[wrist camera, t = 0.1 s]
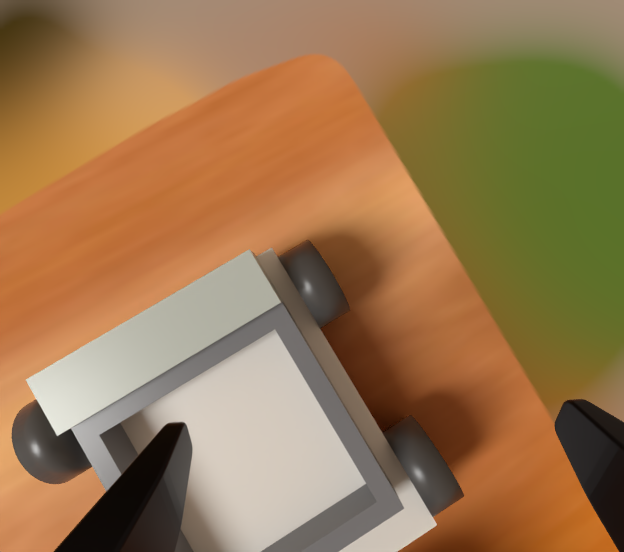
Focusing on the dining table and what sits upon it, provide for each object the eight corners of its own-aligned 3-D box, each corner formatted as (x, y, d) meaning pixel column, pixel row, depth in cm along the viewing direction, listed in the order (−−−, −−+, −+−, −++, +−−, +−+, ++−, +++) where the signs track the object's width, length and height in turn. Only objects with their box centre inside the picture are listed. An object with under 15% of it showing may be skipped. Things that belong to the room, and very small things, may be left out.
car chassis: (445, 478, 23) (496, 541, 17) (199, 639, 22) (161, 767, 16) (301, 238, 24) (302, 218, 18) (54, 383, 23) (-34, 414, 17)
